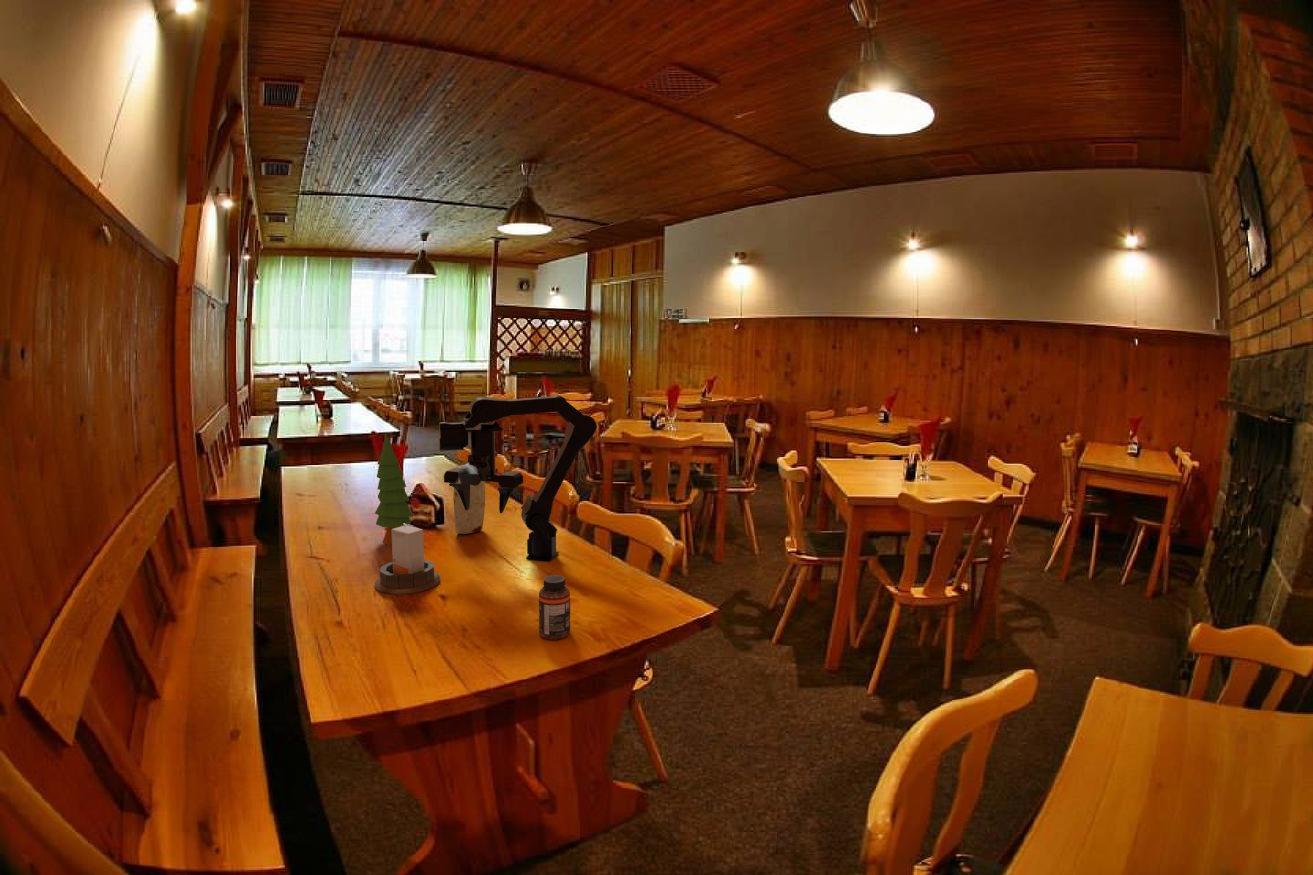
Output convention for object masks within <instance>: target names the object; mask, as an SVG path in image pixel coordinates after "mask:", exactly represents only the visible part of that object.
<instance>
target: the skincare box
mask: <svg viewBox="0 0 1313 875" xmlns="http://www.w3.org/2000/svg"><path fill="white" fill-rule="evenodd" d="M424 547H425V546H424V530H423V529H422V528H419V527H416V526H415V527H414V526H411V525H408V524H404V526H400V527H398V528H394V529H392V544H391V548H392V549H391V550H392V552H391V553H392V557H391V558H392V562H393V574H411V573H416V572H420V571H423V570H424V560H425V550H424V549H425V548H424Z"/></svg>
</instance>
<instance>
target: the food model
mask: <svg viewBox="0 0 1313 875" xmlns="http://www.w3.org/2000/svg"><path fill="white" fill-rule="evenodd" d="M464 465H465V464H461V465H458V466H455V468H462V467H463V466H464ZM452 495H453V497H452V498H453V499H452V500H453V511H454V512H453V514H454V526H455V527H454V528H455V532H456V534H458V535H459V534H460V535H465V534H473V533H477V532H481V531H482V530H483V526H484V520H485V508H486V481H481V482H480V484H479V485H476V486H473V485H470V505H469V510H467V511H466V510H465V508H464V505H463V503H462V500H461V498H460V496H459V494H458V492H457V490H456V489H455V488H454V487H453V494H452Z"/></svg>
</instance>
